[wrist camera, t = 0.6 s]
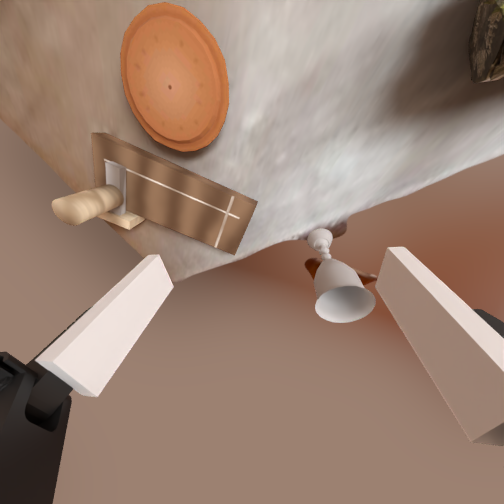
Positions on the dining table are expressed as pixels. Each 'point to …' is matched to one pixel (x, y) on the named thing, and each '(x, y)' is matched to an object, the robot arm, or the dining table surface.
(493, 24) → the hollow geode rock
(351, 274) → the chalice
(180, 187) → the board
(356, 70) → the dining table surface
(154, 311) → the robot arm
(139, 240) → the dining table surface
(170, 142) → the pie
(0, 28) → the dining table surface
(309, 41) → the dining table surface
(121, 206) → the wooden handled tool
